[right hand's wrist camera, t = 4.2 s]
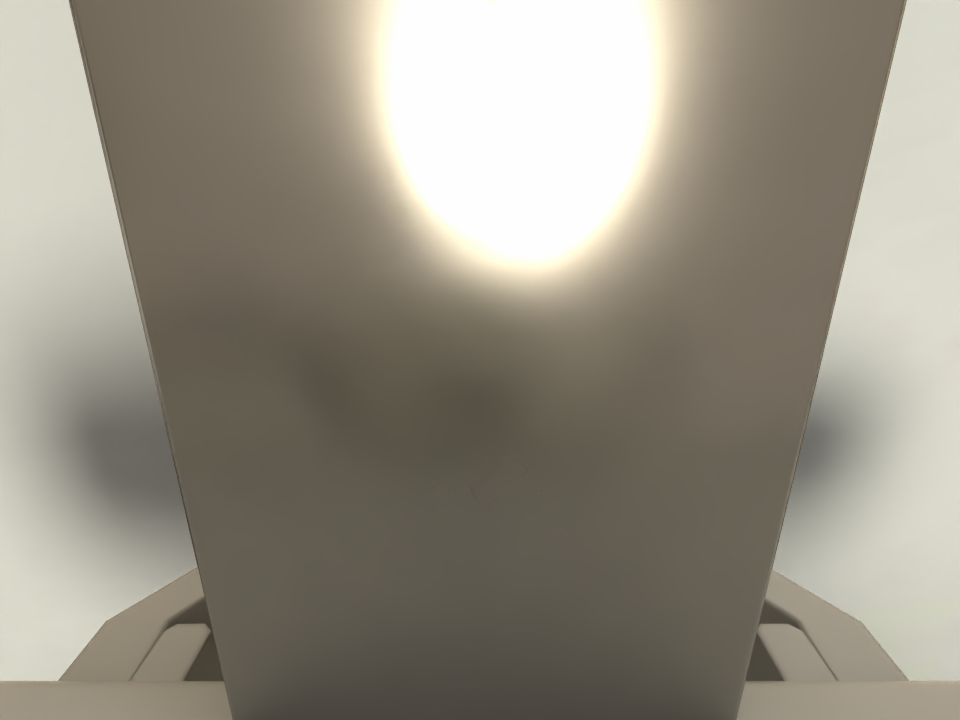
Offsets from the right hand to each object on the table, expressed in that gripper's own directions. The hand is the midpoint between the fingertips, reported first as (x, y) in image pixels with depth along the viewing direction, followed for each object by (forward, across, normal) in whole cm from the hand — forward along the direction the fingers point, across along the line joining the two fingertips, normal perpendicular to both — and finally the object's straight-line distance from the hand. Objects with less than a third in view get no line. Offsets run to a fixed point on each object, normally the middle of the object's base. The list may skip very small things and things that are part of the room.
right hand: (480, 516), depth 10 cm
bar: (+3, 0, -8) cm, 9 cm away
